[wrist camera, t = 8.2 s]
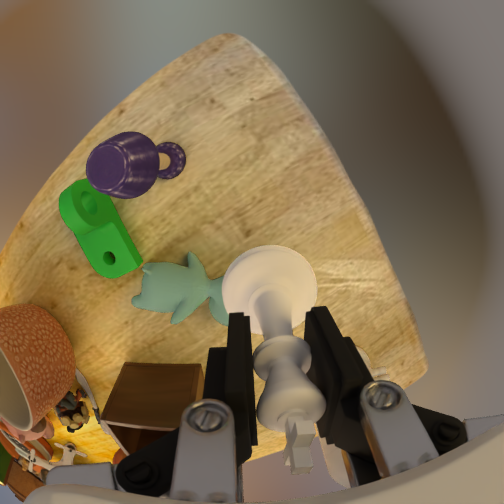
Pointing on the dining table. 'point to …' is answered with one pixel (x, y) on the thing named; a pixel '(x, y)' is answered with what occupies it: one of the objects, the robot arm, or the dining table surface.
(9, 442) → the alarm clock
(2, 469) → the book
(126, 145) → the toy lamp
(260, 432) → the dining table surface
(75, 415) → the toy
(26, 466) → the animal model
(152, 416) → the chest
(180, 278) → the toy
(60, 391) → the planter
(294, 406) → the chess piece
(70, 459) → the drone
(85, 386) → the knife
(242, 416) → the robot arm
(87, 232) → the mechanical part
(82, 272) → the dining table surface
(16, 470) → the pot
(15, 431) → the toy
